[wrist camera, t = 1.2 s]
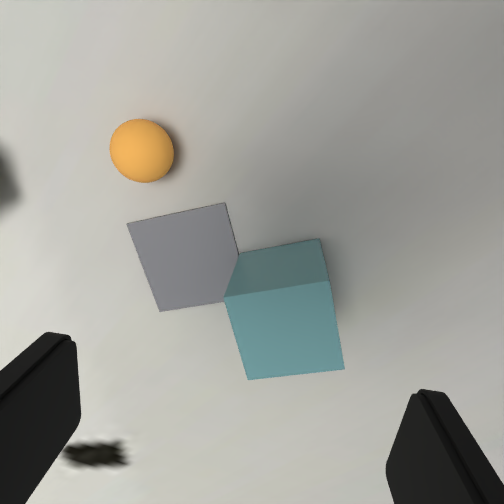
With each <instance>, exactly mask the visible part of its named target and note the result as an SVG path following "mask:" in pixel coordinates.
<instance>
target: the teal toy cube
mask: <svg viewBox="0 0 504 504" xmlns="http://www.w3.org/2000/svg"><path fill="white" fill-rule="evenodd" d="M223 298H224V302H225V305H226V308H227V312H228V315H229V318H230V322H231V325H232V328H233V332H234V335H235V338H236V342H237V345H238V349H239V352H240V355H241V359H242V362H243V365H244V369H245V372H246V375H247V379H248V380H254V379H263V378H272V377H281V376H289V375H298V374H307V373H316V372H325V371H334V370H343V369H345V368H344V362H343V356H342V350H341V345H340V339H339V333H338V327H337V321H336V316H335V310H334V304H333V298H332V292H331V287H330V281H329V277H328V272H327V268H326V264H325V260H324V256H323V252H322V248H321V244H320V240H319V239H314V240H309V241H303V242H298V243H292V244H287V245H281V246H276V247H271V248H265V249H260V250H254V251H249V252H243V253H240V254H239V257H238V260H237V262H236V265H235V268H234V270H233V273H232V276H231V278H230V281H229V284H228V286H227V289H226V292H225V294H224V297H223Z"/></svg>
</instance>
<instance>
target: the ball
mask: <svg viewBox="0 0 504 504" xmlns="http://www.w3.org/2000/svg"><path fill="white" fill-rule="evenodd" d="M110 156H111V159H112V161H113V163H114V165H115V167H116V168H117V169H118V171H119V172H120V173H121V174H122V175H124V176H125V177H127V178H128V179H130V180H133V181H136V182H141V183H148V182H153V181H156V180H158V179H160V178H161V177H163V176H164V175H165V174H166V173H167V172H168V171H169V169H170V167H171V165H172V163H173V158H174V150H173V145H172V142H171V139H170V137H169V136H168V134H167V133H166V132H165V130H164V129H162V128H161V127H160V126H159V125H157V124H156V123H154V122H151V121H149V120H144V119H134V120H129V121H127V122H125V123H123V124H121V125H120V126H119V127H118V128H117V129H116V130H115V132H114V133H113V135H112V137H111V141H110Z"/></svg>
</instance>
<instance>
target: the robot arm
mask: <svg viewBox="0 0 504 504" xmlns="http://www.w3.org/2000/svg"><path fill="white" fill-rule="evenodd" d="M80 419H81V405H80V391H79V376H78V362H77V347H76V343H75V342H74V341H72V340H71V337H70V336H69V335H66V334H59V333H53V332H46V333H44V334H43V335H42V336H40V337H39V338H38V339H37V340H36V341H35V342H33V343H32V344H31V345H30V346H29V347H28V348H26V349H25V350H24V351H23V352H22V353H21V354H19V355H18V356H17V357H16V358H15V359H14V360H12V361H11V362H10V363H9V364H8V365H7V366H5V367H4V368H3V369H2V370H1V371H0V504H25V503H26V502H27V500H28V499H29V497H30V496H31V494H32V493H33V491H34V490H35V489H36V487H37V486H38V484H39V483H40V481H41V480H42V478H43V477H44V475H45V474H46V472H47V471H48V470H49V468H50V467H51V465H52V464H53V462H54V461H55V459H56V458H57V456H58V455H59V453H60V452H61V451H62V449H63V448H64V446H65V445H66V443H67V442H68V440H69V439H70V437H71V436H72V434H73V433H74V432H75V430H76V428H77V427H78V425H79V422H80ZM386 477H387V481H388V485H389V488H390V491H391V494H392V497H393V501H394V504H504V485H503V483H502V481H501V480H500V478H499V477H498V475H497V474H496V472H495V470H494V469H493V467H492V466H491V464H490V462H489V461H488V459H487V458H486V456H485V455H484V453H483V451H482V450H481V448H480V447H479V445H478V444H477V442H476V440H475V439H474V437H473V436H472V434H471V433H470V431H469V429H468V428H467V426H466V425H465V423H464V421H463V420H462V418H461V417H460V415H459V414H458V412H457V410H456V409H455V407H454V406H453V404H452V403H451V401H450V399H449V398H448V396H447V395H446V394H445V393H443V392H438V391H432V390H425V389H420V390H419V391H418V392H417V394H412V395H411V397H410V400H409V402H408V405H407V408H406V411H405V413H404V416H403V419H402V422H401V424H400V427H399V430H398V433H397V435H396V438H395V441H394V444H393V446H392V449H391V452H390V455H389V457H388V460H387V463H386Z"/></svg>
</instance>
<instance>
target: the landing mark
mask: <svg viewBox="0 0 504 504" xmlns="http://www.w3.org/2000/svg"><path fill="white" fill-rule="evenodd" d="M127 227H128V229H129V232H130V235H131V237H132V240H133V243H134V245H135V248H136V251H137V253H138V256H139V258H140V261H141V264H142V266H143V269H144V272H145V274H146V277H147V280H148V282H149V285H150V288H151V290H152V293H153V296H154V298H155V301H156V303H157V306H158V309H159V311H160V312H162V311H168V310H174V309H181V308H187V307H193V306H200V305H206V304H212V303H219V302H224V298H223V297H224V294H225V292H226V289H227V286H228V284H229V281H230V278H231V276H232V273H233V270H234V268H235V265H236V262H237V260H238V257H239V254H238V250H237V246H236V242H235V239H234V235H233V231H232V227H231V224H230V220H229V216H228V212H227V209H226V205H225V203H221V204H216V205H211V206H206V207H202V208H197V209H192V210H188V211H183V212H178V213H174V214H169V215H164V216H160V217H155V218H150V219H146V220H141V221H136V222H132V223H127Z"/></svg>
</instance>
